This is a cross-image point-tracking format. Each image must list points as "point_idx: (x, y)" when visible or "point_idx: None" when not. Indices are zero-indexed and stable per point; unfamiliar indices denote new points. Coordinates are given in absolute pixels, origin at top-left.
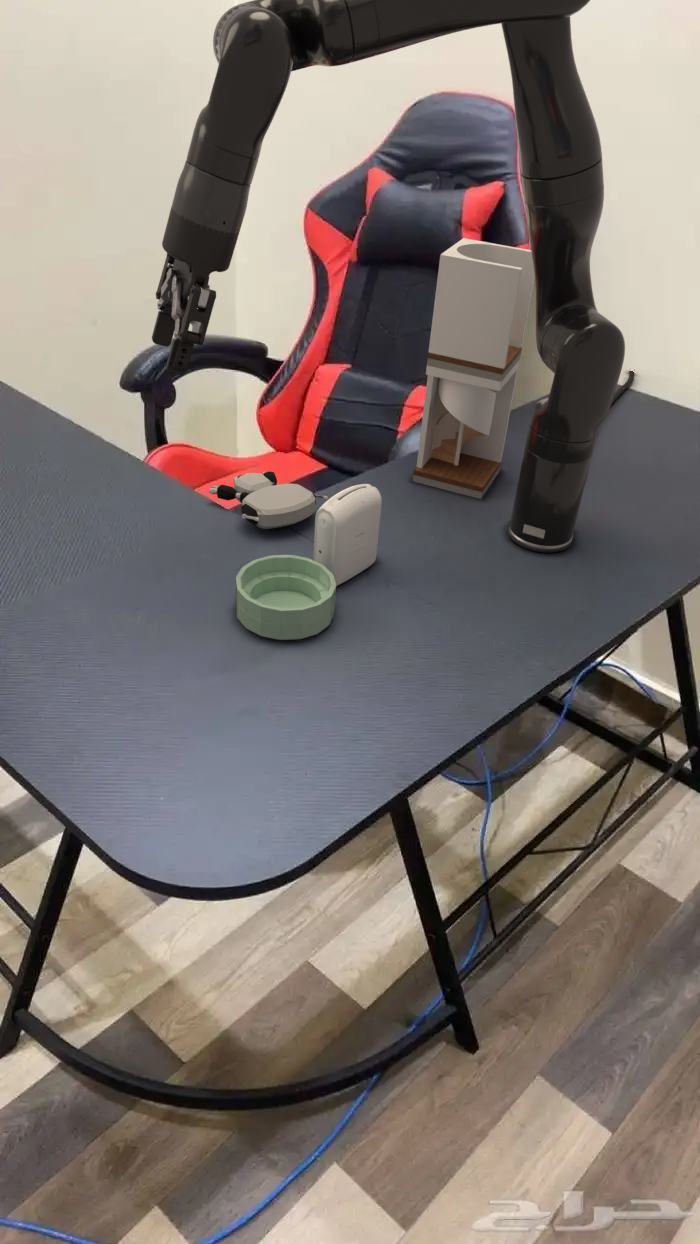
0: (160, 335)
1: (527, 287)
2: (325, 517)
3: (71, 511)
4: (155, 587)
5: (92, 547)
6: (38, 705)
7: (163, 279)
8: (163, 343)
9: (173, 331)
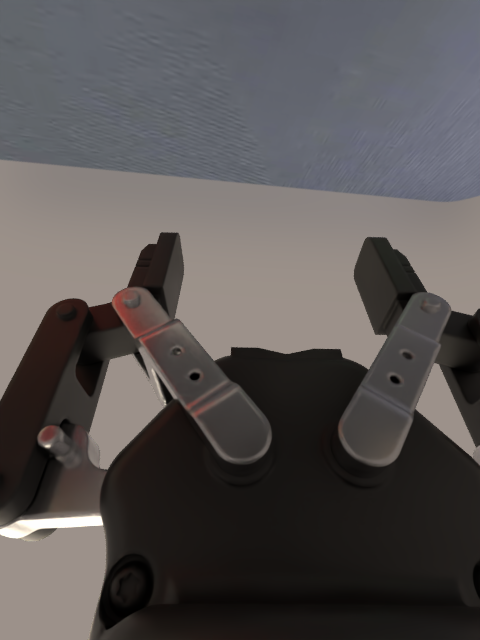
0: (179, 272)
1: None
2: None
3: (103, 110)
4: (301, 32)
5: (189, 99)
6: (415, 182)
7: (93, 409)
8: (180, 249)
9: (170, 257)
